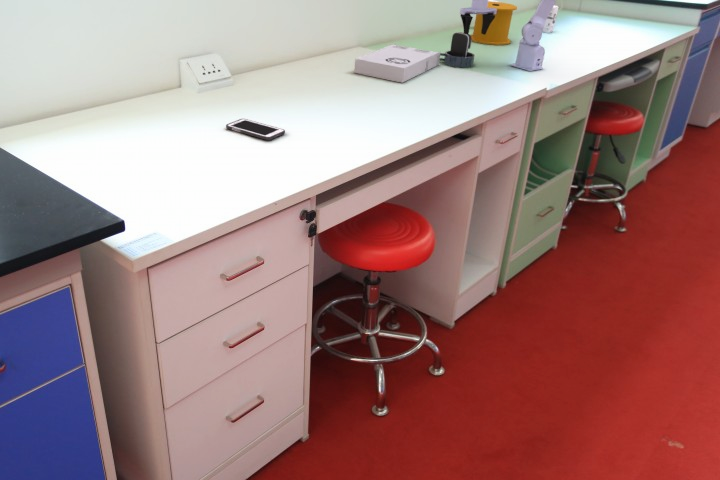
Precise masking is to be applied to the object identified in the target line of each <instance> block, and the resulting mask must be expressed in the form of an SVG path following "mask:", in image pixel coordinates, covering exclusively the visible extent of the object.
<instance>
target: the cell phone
mask: <svg viewBox="0 0 720 480" xmlns="http://www.w3.org/2000/svg"><path fill="white" fill-rule="evenodd" d="M225 128H226V129H228V130H231V131H235V132H238V133H240V134H245V135H247V136H252V137H255V138H259V139H262V140H265V141H271V140H274V139H276V138H278V137H280V136H283V135H285V134H286V130H285V129H283V128H281V127H280V128H279V127H277V126H272V125H269V124H265V123H262V122H258V121H256V120H255V121H254V120H251V119H247V118H239V119H237V120H235V121H232V122H229V123H227V124H226V125H225Z"/></svg>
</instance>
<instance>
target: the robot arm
mask: <svg viewBox="0 0 720 480" xmlns="http://www.w3.org/2000/svg"><path fill="white" fill-rule="evenodd" d="M556 2H557V0H540V2H539V4H538V5H539V6H537V7H536V9H535V11H534V13H533V14H532V16H531V17H530V18H529V20H528V21H527V23H525V24H524V25H523V26H522V28H521V36H522V38H521V39H520V40H519V44H518V49H517V54H516V58H515V63H510V66H511V67H515V68H518V69H521V70H525V71H528V72H533V71H539V70H542V69H543V63H544V58H545V53H546V50H545V47H544V46H543V45H542V46H541V45H540V43H541V42H540V41H541V39H542V37H543V36H542V35H543V32H542V30H543V28H544V26H545V21H546V19H547V17H548V15H549V13H550V12H551V10H552V8H553V6H554V5H555V4H556ZM487 5H488V0H472V1H471V6H470V7H460V9H459V15H460V18H461V22H462V27H463V33H466V34H469V33H470V28H471V25H472V22H473V21H472V20H473V18H474V17H473V16H472V15H476V14H482V16H483V23H482V30H481V34H484V35H486V32H487V30H488V28H489V26H490V24H491V22H492V21H493V20H494V18H495V15H493V14H496V12H497V9H496V8H487ZM469 35H470V34H469Z"/></svg>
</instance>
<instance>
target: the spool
mask: <svg viewBox="0 0 720 480" xmlns="http://www.w3.org/2000/svg"><path fill="white" fill-rule="evenodd" d="M487 8H496V9H497V12H496V14H493V15H495V18H494V20H493V21H492V22H491V24H490V26H489V28H488V30H487V32H486V35H484V34H481V30H482V23H483V16H482V14H475V20H474V27H473V32H472V34H470V35H471V42H474V43H478V44H484V45H489V46H490V45H491V46H506V45H510V44H511V39H510V38H509V34H510V28H511V22H512V17H513V12H514V11H517V10H518V6H517V5H515V4H512V3H506V2H501V1H498V2H490V1H488V5H487Z"/></svg>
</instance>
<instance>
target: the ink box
mask: <svg viewBox="0 0 720 480" xmlns="http://www.w3.org/2000/svg"><path fill="white" fill-rule="evenodd" d="M538 6H539V4H538ZM538 6H537V7H538ZM559 8H560V7H559V6H558V5H555V4H554V6H553V8H552V10H551V12H550V13H549V15H548V17H547V19H546V21H545V26H544V28H543V30H542V33H546V34H551V33H554V29H555V25H556V21H557V15H558V12H559Z"/></svg>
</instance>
